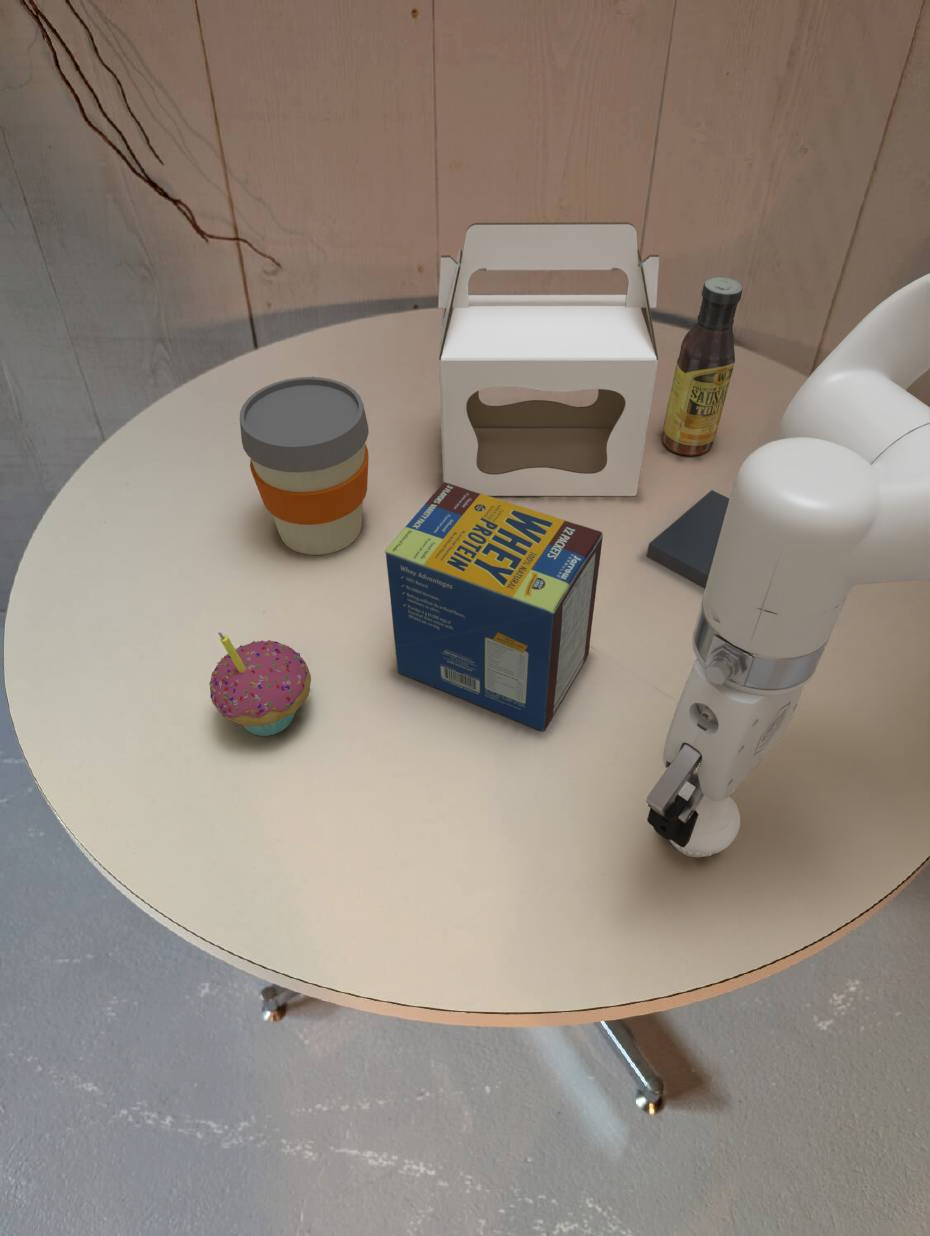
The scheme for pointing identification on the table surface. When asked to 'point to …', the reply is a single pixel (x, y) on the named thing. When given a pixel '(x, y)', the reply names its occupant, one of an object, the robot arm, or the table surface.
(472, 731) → the table surface
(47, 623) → the table surface
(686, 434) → the sauce bottle
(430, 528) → the protein box
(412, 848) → the table surface
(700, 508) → the scale
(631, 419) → the gable box
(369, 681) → the table surface
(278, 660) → the cupcake
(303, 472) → the reusable coffee cup
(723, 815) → the muffin
